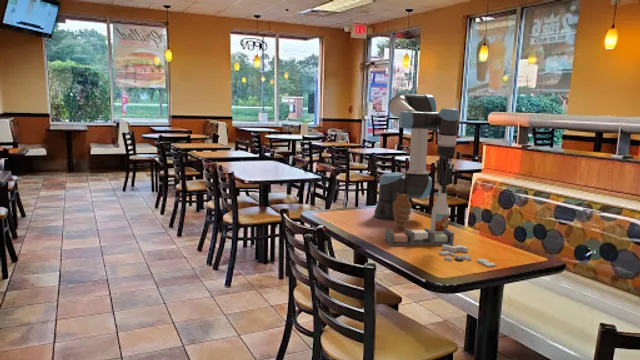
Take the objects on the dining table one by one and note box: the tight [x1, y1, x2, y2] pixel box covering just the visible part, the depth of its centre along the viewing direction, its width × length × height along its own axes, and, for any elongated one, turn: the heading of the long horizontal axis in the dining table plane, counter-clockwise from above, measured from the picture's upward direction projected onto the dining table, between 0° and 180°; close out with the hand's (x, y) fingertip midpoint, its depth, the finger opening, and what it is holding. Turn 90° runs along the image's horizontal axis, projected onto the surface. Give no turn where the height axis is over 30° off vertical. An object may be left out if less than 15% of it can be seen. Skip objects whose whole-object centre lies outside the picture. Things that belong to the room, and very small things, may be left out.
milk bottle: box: [429, 191, 450, 233], centre depth 214 cm, size 8×8×20 cm
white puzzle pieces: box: [438, 244, 497, 268], centre depth 183 cm, size 20×24×2 cm
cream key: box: [410, 229, 428, 239], centre depth 201 cm, size 5×6×2 cm
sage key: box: [434, 233, 448, 242], centre depth 203 cm, size 5×6×2 cm
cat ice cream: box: [393, 193, 413, 231], centre depth 220 cm, size 9×8×18 cm
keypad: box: [384, 227, 455, 247], centre depth 202 cm, size 8×28×6 cm, turn 99°
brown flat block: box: [393, 232, 408, 242], centre depth 200 cm, size 5×6×2 cm
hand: (441, 200), depth 201 cm, fingers closed
